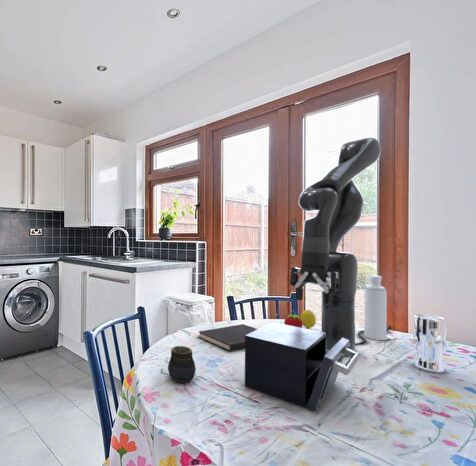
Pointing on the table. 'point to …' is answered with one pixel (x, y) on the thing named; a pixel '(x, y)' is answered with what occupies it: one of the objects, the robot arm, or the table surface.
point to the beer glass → (429, 342)
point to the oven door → (332, 371)
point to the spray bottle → (375, 310)
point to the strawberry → (293, 321)
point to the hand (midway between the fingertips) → (312, 302)
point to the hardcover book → (227, 336)
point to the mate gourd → (181, 364)
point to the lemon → (308, 319)
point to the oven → (284, 361)
